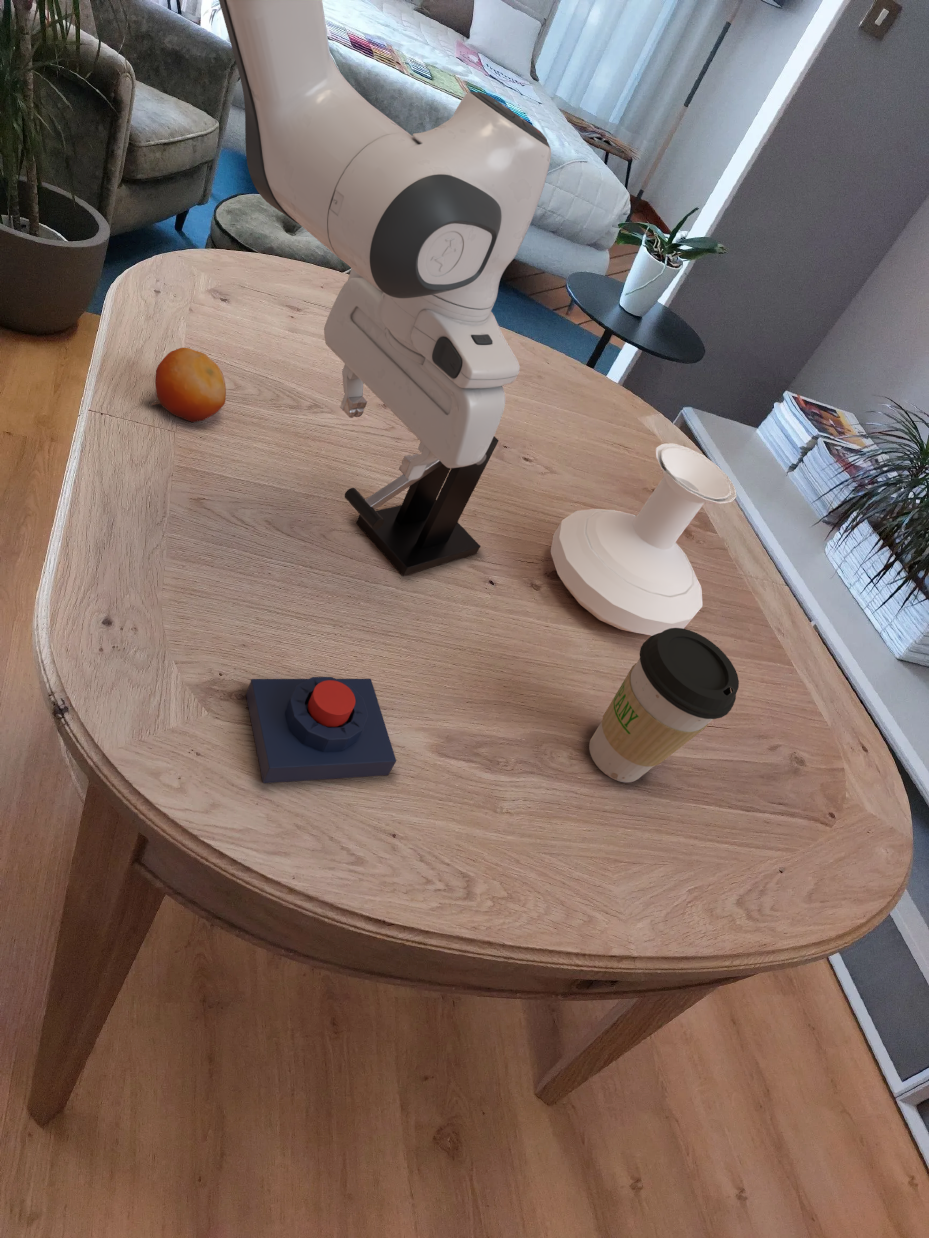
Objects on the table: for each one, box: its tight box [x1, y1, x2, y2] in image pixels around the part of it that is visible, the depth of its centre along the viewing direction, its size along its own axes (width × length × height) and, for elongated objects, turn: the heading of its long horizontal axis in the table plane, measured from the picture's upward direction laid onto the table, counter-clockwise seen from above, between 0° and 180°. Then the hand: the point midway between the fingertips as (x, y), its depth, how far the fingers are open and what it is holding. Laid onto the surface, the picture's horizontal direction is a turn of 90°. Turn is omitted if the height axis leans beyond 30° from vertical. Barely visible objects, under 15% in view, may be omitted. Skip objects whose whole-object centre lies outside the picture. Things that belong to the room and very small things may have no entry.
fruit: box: [150, 347, 227, 423], centre depth 95 cm, size 8×8×8 cm
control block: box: [245, 676, 397, 784], centre depth 71 cm, size 11×9×4 cm
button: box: [308, 680, 355, 727], centre depth 70 cm, size 4×4×2 cm
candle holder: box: [550, 442, 737, 637], centre depth 100 cm, size 20×20×19 cm
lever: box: [344, 459, 443, 530], centre depth 87 cm, size 15×5×2 cm
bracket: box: [355, 435, 499, 577], centre depth 93 cm, size 12×9×16 cm
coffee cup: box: [588, 628, 740, 783], centre depth 81 cm, size 10×10×15 cm
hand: (379, 443), depth 79 cm, fingers open, 8 cm apart
